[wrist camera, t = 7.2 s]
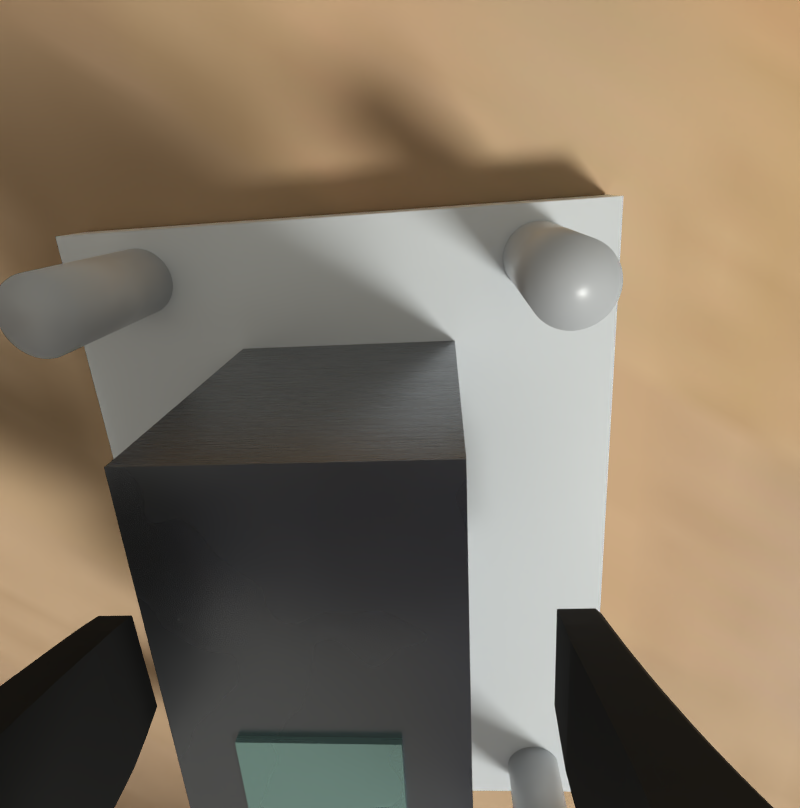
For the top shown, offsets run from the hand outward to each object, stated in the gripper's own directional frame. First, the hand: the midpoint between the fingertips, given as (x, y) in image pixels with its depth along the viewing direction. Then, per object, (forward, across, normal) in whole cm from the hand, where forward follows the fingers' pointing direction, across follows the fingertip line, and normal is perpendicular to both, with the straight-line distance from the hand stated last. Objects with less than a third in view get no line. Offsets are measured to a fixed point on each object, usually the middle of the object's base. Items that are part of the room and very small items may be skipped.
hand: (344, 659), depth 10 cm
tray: (+4, 0, 0) cm, 4 cm away
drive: (+3, 0, 0) cm, 3 cm away
